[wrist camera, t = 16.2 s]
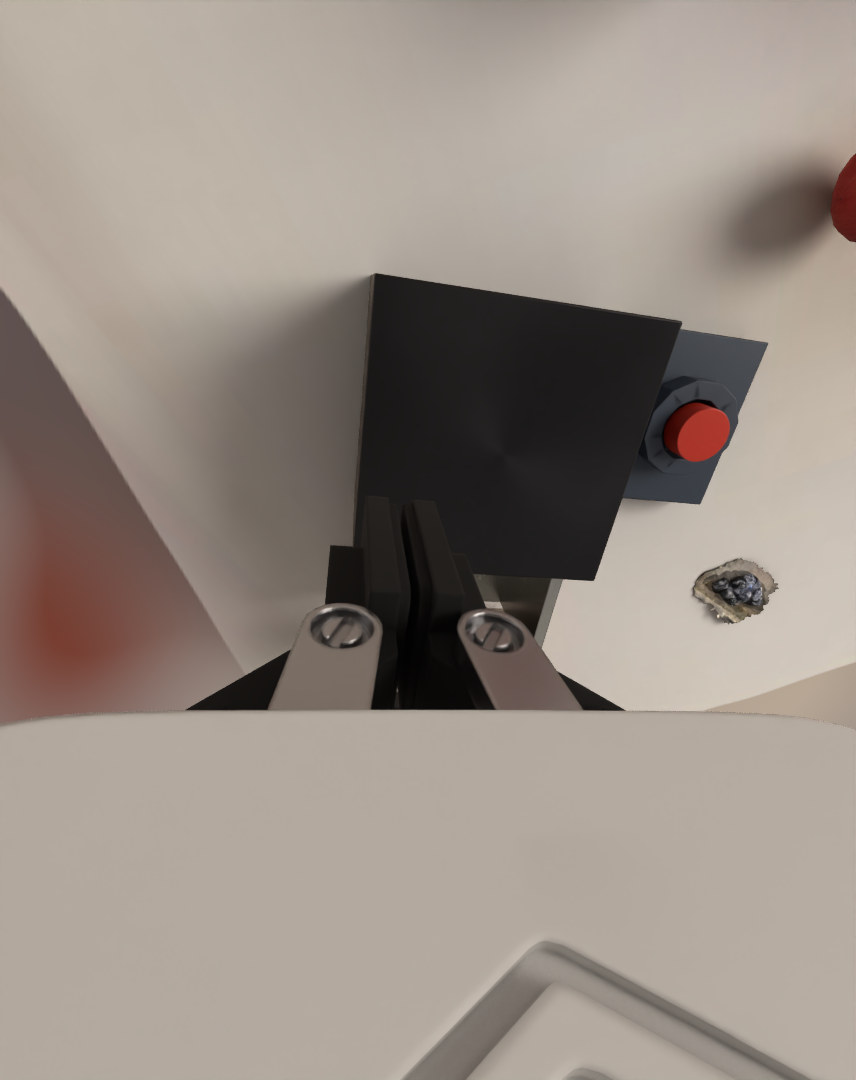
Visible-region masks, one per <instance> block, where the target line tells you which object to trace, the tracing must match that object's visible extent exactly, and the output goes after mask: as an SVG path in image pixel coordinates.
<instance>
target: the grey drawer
mask: <svg viewBox="0 0 856 1080" xmlns="http://www.w3.org/2000/svg"><path fill="white" fill-rule="evenodd" d="M473 575H474V577H475V580H476V583H477V585H478V588H479V591H480V593H481V596H482V599H483V601H491V602H500V603H501V605H502V608H503V609H495V608H486V609H492V610H497V611H501V612H504V613H506V614H509V615H511V616H513V617H515V618H516V619H518V620H519V621H521V622H522V623H523V624H524V625H525V626H526V627H527V629H528V630H529V631H530V633H531V634H532V636H533V637H534V638H535V640H536V641H537V643H538V644H539V646H540V647H541V648H542V645H543V642H544V639H545V635H546V632H547V629H548V626H549V622H550V619H551V616H552V613H553V609H554V606H555V603H556V600H557V596H558V593H559V590H560V587H561V583H562V580H563V579H551V578H533V577H516V576H498V575H481V574H473ZM394 710H400V709H399V699H398V689H397V692H396V699H395V705H394Z"/></svg>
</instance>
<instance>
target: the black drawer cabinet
mask: <svg viewBox="0 0 856 1080" xmlns="http://www.w3.org/2000/svg"><path fill="white" fill-rule="evenodd" d="M681 325H682V322H681V321H677V320H671V319H665V318H658V317H652V316H646V315H639V314H633V313H626V312H620V311H614V310H607V309H601V308H594V307H588V306H582V305H575V304H569V303H563V302H556V301H550V300H543V299H537V298H531V297H524V296H518V295H512V294H505V293H499V292H492V291H486V290H480V289H473V288H467V287H460V286H454V285H448V284H441V283H435V282H429V281H422V280H416V279H409V278H403V277H397V276H390V275H384V274H378V273H376V274H372V275H371V279H370V293H369V306H368V320H367V333H366V347H365V360H364V374H363V387H362V401H361V414H360V428H359V441H358V455H357V468H356V482H355V497H354V523H353V547H361V536H362V525H363V514H364V504H365V496H376V497H388V499H389V503H390V504H397V509H398V515H399V521H400V519H401V511H402V506H403V505H410V504H411V501H412V500H425V501H434V502H435V504H436V507H437V510H438V513H439V516H440V519H441V522H442V525H443V528H444V531H445V534H446V537H447V541H448V544H449V547H450V550H451V553H461V554H465V555H466V556H467V559H468V561H469V564H470V567H471V569H472V572H473V574H481V575H498V576H516V577H533V578H551V579H569V580H586V581H594V579H595V576H596V573H597V570H598V568H599V565H600V562H601V559H602V556H603V553H604V550H605V547H606V544H607V541H608V538H609V535H610V532H611V530H612V527H613V524H614V521H615V518H616V515H617V512H618V509H619V506H620V503H621V500H622V497H623V495H624V492H625V489H626V486H627V483H628V480H629V477H630V474H631V471H632V468H633V465H634V462H635V460H636V457H637V454H638V451H639V448H640V445H641V442H642V439H643V436H644V433H645V430H646V427H647V425H648V422H649V419H650V416H651V413H652V410H653V407H654V404H655V401H656V398H657V395H658V392H659V390H660V387H661V384H662V381H663V378H664V375H665V372H666V369H667V366H668V363H669V360H670V357H671V354H672V352H673V349H674V346H675V343H676V340H677V337H678V334H679V331H680V328H681Z"/></svg>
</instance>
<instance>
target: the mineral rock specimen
mask: <svg viewBox="0 0 856 1080" xmlns="http://www.w3.org/2000/svg"><path fill="white" fill-rule="evenodd" d="M762 569H763V568H758V565H757V564H756V563H754V562H748V561H744V560H743V559H741V558H740V559H738V560H736V561H733V562H729V563H727V564H726V567H724V566H723V567H722V566H720V568H719V569H716V570H715V569H714V570H712V571H708V572H706V573H704V575H703V576H702V575H701V576H700V577H699V578H698V580H697V581H696V583H697V584H696V586H695V587H694V590H695V592H696V593H695V596H696V598H698V597H700V598H701V599H702V600H703V602H704V603H705V604H706V603H711V604H713V605H714V608H713V609H711V610H714V609H715V610H716V611H717V612H718V613H719V614H717V618H719V616H722V619H723V620H724V623H728V624H729V623H731V624H733V623H737V622H740V621H741V620H744V619H745V617H747V616H748V617H751V616H752V615H751V614H753V615H757V614H760V612H761V611H763V610H764V609H763V605H766V604H768V602H769V600H768V598H769V597H768V595H769V594H771V593H773V592H775V589H779V588H778V587H776V586H777V585H778V583H775V584H774V579H773V578H772V576H771V575H770V574H769V573H768V572H766V573H765V572H763V571H762ZM701 599H700V600H701ZM711 610H710V611H711Z"/></svg>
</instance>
